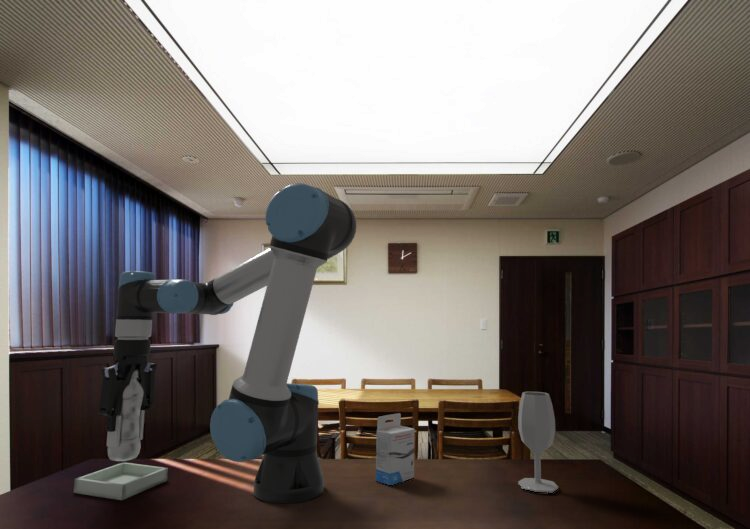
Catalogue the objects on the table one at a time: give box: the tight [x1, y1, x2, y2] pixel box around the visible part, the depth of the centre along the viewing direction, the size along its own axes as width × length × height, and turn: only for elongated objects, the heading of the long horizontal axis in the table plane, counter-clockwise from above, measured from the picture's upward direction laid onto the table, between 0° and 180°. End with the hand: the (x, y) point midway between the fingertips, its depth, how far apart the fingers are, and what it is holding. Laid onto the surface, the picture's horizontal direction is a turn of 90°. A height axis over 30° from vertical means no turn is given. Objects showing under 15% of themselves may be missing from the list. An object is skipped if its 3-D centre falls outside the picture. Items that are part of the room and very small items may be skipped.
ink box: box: [375, 412, 416, 486], centre depth 113 cm, size 8×5×15 cm, turn 134°
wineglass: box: [517, 391, 559, 494], centre depth 110 cm, size 9×9×21 cm
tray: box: [73, 461, 169, 501], centre depth 106 cm, size 13×13×3 cm
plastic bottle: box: [107, 369, 144, 462], centre depth 108 cm, size 6×7×20 cm
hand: (125, 442), depth 107 cm, fingers closed on plastic bottle, 6 cm apart
